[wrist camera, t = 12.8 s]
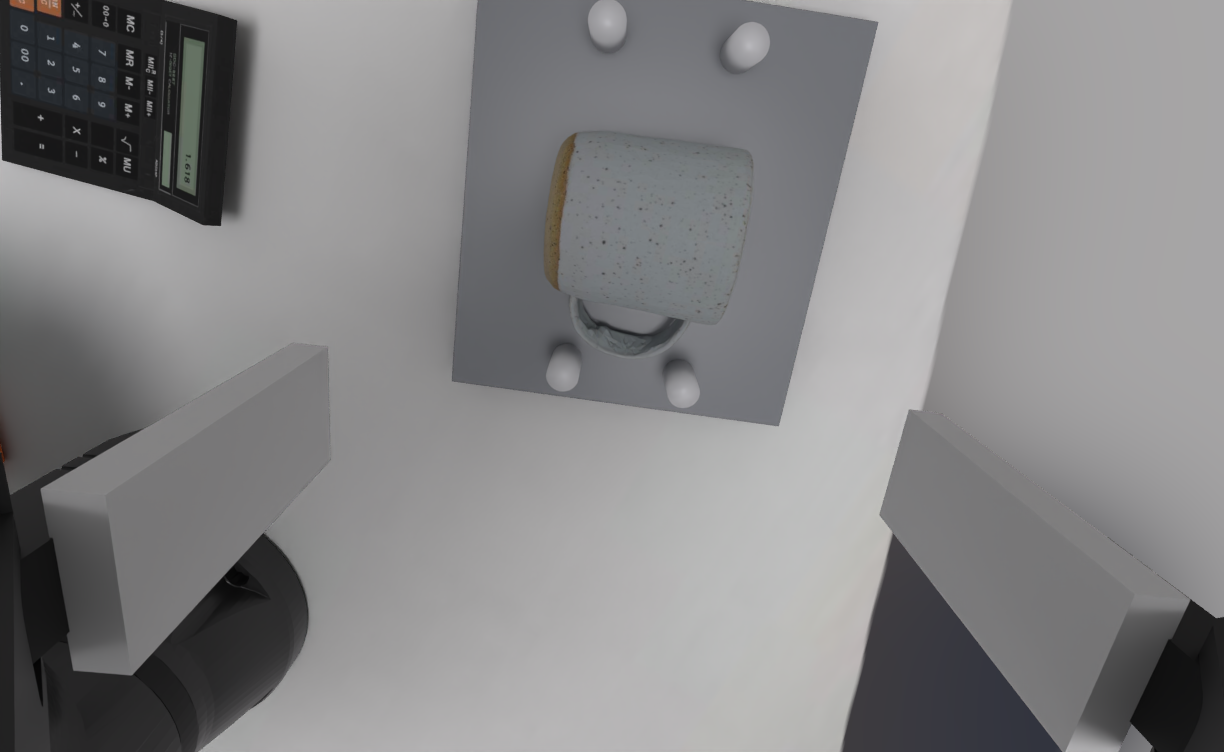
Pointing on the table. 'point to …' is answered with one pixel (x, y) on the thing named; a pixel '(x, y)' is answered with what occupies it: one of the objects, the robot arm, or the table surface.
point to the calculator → (120, 97)
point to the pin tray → (666, 109)
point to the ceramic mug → (646, 232)
